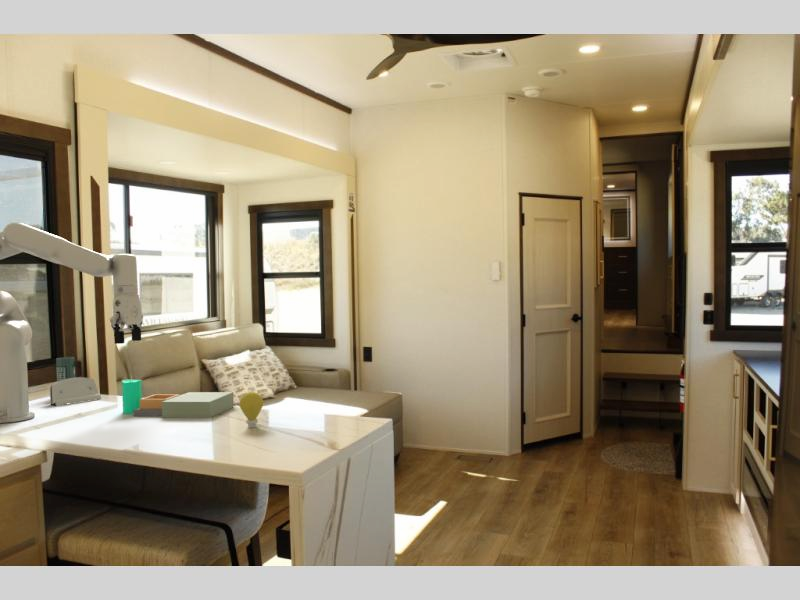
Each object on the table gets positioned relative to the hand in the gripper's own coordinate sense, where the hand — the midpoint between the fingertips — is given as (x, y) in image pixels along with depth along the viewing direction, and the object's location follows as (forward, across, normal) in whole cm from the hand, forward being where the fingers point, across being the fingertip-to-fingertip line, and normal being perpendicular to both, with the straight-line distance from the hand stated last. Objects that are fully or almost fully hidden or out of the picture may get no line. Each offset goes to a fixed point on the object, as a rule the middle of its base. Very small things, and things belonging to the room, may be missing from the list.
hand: (128, 341), depth 220 cm
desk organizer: (+23, -2, -20) cm, 31 cm away
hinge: (+23, +15, +33) cm, 43 cm away
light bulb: (+24, -22, -52) cm, 62 cm away
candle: (+23, -2, -2) cm, 23 cm away
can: (+23, +26, +44) cm, 56 cm away
